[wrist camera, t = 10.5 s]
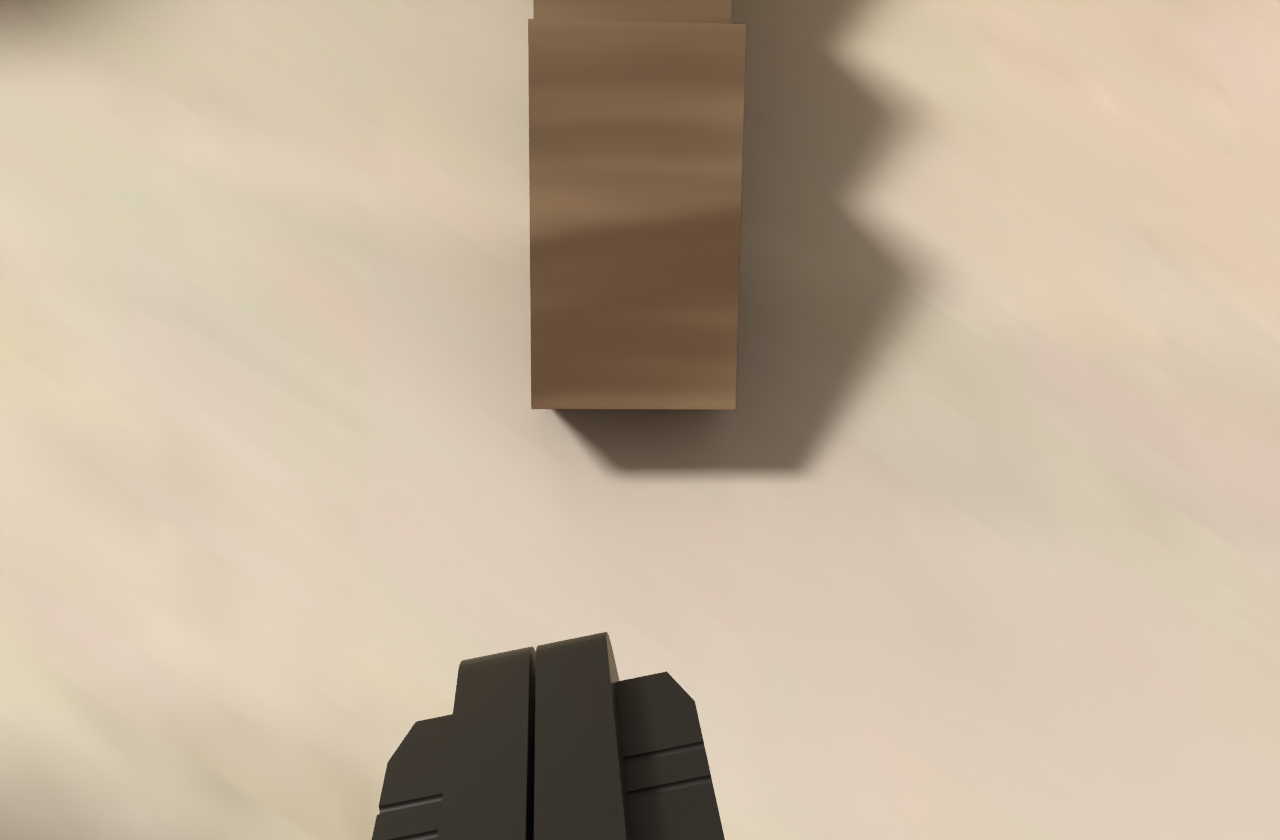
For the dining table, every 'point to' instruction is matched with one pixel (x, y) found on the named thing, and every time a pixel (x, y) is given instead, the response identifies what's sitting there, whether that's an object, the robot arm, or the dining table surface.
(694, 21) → the domino
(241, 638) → the dining table surface
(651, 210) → the domino
